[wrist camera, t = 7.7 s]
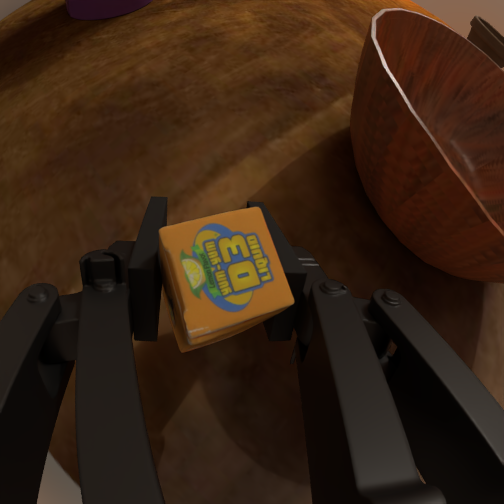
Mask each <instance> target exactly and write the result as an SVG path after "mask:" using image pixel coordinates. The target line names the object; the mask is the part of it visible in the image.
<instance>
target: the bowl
mask: <svg viewBox="0 0 504 504" xmlns="http://www.w3.org/2000/svg"><path fill="white" fill-rule="evenodd" d="M350 134H351V141H352V147H353V154H354V161H355V166H356V168H357V171H358V174H359V176H360V179H361V181H362V184H363V187H364V190H365V192H366V195H367V196H368V198H369V199H370V201H371V203H372V205H373V206H374V208H375V210H376V211H377V213H378V215H379V216H380V218H381V220H382V221H383V222H384V223H385V225H386V226H387V227H388V228H389V229H390V230H391V232H392V233H393V234H394V235H395V236H396V238H397V239H398V240H399V241H400V242H401V243H402V244H403V245H404V246H405V247H407V248H408V249H409V250H410V251H411V252H413V253H414V254H415V255H416V256H417V257H419V258H420V259H421V260H422V261H424V262H425V263H427V264H429V265H432V266H434V267H436V268H438V269H440V270H442V271H444V272H446V273H448V274H450V275H453V276H455V277H459V278H463V279H467V280H474V281H483V282H493V283H504V71H503V70H502V69H501V68H500V67H499V66H498V65H497V64H496V63H495V62H494V61H493V60H492V59H491V58H489V57H488V56H487V55H486V54H485V53H484V52H483V51H481V50H480V49H479V48H478V47H476V46H475V45H474V44H473V43H471V42H470V41H469V40H467V39H466V38H465V37H463V36H462V35H460V34H459V33H457V32H455V31H454V30H452V29H451V28H449V27H447V26H446V25H444V24H442V23H440V22H438V21H436V20H434V19H432V18H430V17H427V16H425V15H423V14H420V13H417V12H413V11H409V10H405V9H401V8H392V9H382V10H381V11H380V12H378V13H377V14H376V15H375V16H374V17H373V18H372V20H371V23H370V26H369V29H368V32H367V36H366V39H365V42H364V46H363V50H362V54H361V58H360V62H359V66H358V71H357V76H356V82H355V89H354V96H353V103H352V109H351V119H350Z"/></svg>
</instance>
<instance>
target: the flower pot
mask: <svg viewBox="0 0 504 504" xmlns="http://www.w3.org/2000/svg"><path fill="white" fill-rule="evenodd" d="M470 24H471V26H472V28H471V31H470V33H469V35H468V37H467V40H469V41H470V42H471V43H473V44H474V45H475V46H476V47H478V48H479V49H480V50H481V51H483V52H484V53H485V54H486V55H487V56H488V57H489V58H491V59H492V60H493V61H494V62H495V63H496V64H497V65H498V66H499V67H500V68H503V67H504V37H503V36H502V35H501V34H500V33H499V32H498V31H497V30H496V29H495V28H493V26H491V25H490V24H489V23H488V22H486V21H485V20H484V19H483V18H481V17H479V16H475V17H474V18H473V19H472V21H471V22H470Z"/></svg>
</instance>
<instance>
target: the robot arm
mask: <svg viewBox="0 0 504 504" xmlns="http://www.w3.org/2000/svg"><path fill="white" fill-rule="evenodd" d="M252 207H259V208H260V209H261V211H262V214H263V217H264V220H265V222H266V225H267V228H268V230H269V233H270V235H271V238H272V241H273V244H274V246H275V249H276V252H277V254H278V257H279V260H280V263H281V265H282V268H283V271H284V274H285V276H286V279H287V282H288V284H289V287H290V290H291V293H292V295H293V298H294V304H293V305H291V306H290V307H288V308H287V309H285V310H284V311H282V312H280V313H278V314H277V315H275V316H273V317H271V318H269V319H267V320H265V321H263V324H264V327H265V330H266V333H267V336H268V339H269V341H287V340H291V336H292V332H293V328H294V329H295V331H296V334H297V340H296V343H295V347H294V350H293V354H292V357H291V361H290V364H293V363H294V360H295V358H296V362H297V370H298V378H299V386H300V394H301V402H302V410H303V419H304V427H305V436H306V445H307V454H308V464H309V473H310V483H311V493H312V504H504V410H503V408H502V407H501V406H500V405H499V403H498V402H497V401H496V400H495V398H494V397H493V396H492V395H491V394H490V392H489V391H488V390H487V389H486V387H485V386H484V385H483V384H482V383H481V381H480V380H479V379H478V378H477V377H476V376H475V374H474V373H473V372H472V371H471V370H470V369H469V367H468V366H467V365H466V364H465V363H464V362H463V360H462V359H461V358H460V357H459V356H458V355H457V354H456V352H455V351H454V350H453V349H452V348H451V347H450V346H449V345H448V344H447V342H446V341H445V340H444V339H443V338H442V337H441V336H440V335H439V334H438V333H437V331H436V330H435V329H434V328H433V327H432V326H431V325H430V324H429V323H428V322H427V321H426V320H425V319H424V317H423V316H422V315H421V314H420V313H419V312H418V311H417V310H416V309H415V308H414V307H413V306H412V305H411V304H410V303H409V302H408V301H407V300H406V299H405V298H404V297H403V296H402V295H400V294H399V293H397V292H395V291H393V290H390V289H378V290H375V291H374V292H373V294H372V297H371V300H367V299H361V298H356V297H352V294H351V292H350V290H349V289H348V288H347V287H346V286H345V285H344V284H342V283H340V282H338V281H336V280H332V279H328V277H327V276H326V274H325V273H324V272H323V270H322V269H321V267H320V266H319V264H318V263H317V262H316V260H315V259H314V257H313V256H312V255H311V253H310V252H309V251H307V250H306V249H304V248H303V247H297V246H290V244H289V242H288V241H287V239H286V238H285V236H284V235H283V233H282V231H281V230H280V228H279V227H278V225H277V224H276V222H275V220H274V219H273V217H272V216H271V214H270V213H269V211H268V210H267V208H266V207H265V205H264V203H263V202H250V201H247V208H252ZM247 208H246V209H247ZM166 226H167V197H151V199H150V202H149V205H148V207H147V210H146V213H145V216H144V219H143V222H142V225H141V228H140V231H139V234H138V237H137V240H136V241H116V242H115V243H113V244H112V245H111V246H109V248H108V250H104V249H102V250H95V251H92V252H89V253H87V254H85V255H84V256H83V257H82V258H81V259H80V261H79V263H80V270H81V277H82V284H83V290H82V291H81V292H78V293H74V294H69V295H62V296H59V294H58V290H57V288H56V287H54V286H53V285H51V284H47V283H38V284H33V285H31V286H29V287H27V288H25V289H24V290H23V291H22V292H21V293H20V294H19V296H18V297H17V298H16V300H15V301H14V303H13V304H12V305H11V307H10V308H9V310H8V311H7V313H6V314H5V316H4V317H3V319H2V320H1V322H0V504H37V499H38V493H39V488H40V483H41V479H42V474H43V470H44V465H45V461H46V457H47V453H48V449H49V445H50V441H51V437H52V434H53V430H54V427H55V423H56V420H57V416H58V413H59V410H60V406H61V403H62V400H63V397H64V394H65V390H66V387H67V384H68V381H69V378H70V376H71V373H72V370H73V367H74V364H75V360H76V385H75V413H76V441H77V456H78V468H79V478H80V487H81V495H82V502H83V504H165V500H164V497H163V493H162V490H161V486H160V483H159V479H158V475H157V471H156V467H155V463H154V459H153V455H152V451H151V446H150V442H149V437H148V433H147V428H146V423H145V418H144V413H143V407H142V402H141V396H140V390H139V384H138V378H137V372H136V365H135V358H134V350H133V343H132V335H133V332H134V340H136V341H157V337H158V324H159V312H160V301H161V290H162V276H161V264H160V248H159V230H160V229H161V228H163V227H166ZM392 342H394V343H395V344H396V346H397V349H396V351H395V353H394V355H392V354H391V353H390V352H389V351H388V350H389V348H390V346H391V344H392ZM416 467H417V469H418V470H419V472H420V474H421V475H422V477H423V479H424V481H425V482H426V484H424V483H423V482H422V481H421V480H420V478H419V475H418V472H417V469H416Z"/></svg>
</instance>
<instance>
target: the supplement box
mask: <svg viewBox="0 0 504 504" xmlns="http://www.w3.org/2000/svg"><path fill="white" fill-rule="evenodd" d="M159 248H160V264H161V276H162V286H163V294H164V300H165V304H166V308H167V311H168V315H169V318H170V322H171V325H172V328H173V331H174V335H175V338H176V341H177V344H178V347H179V349H180V351H181V352H182V353H184V352H188V351H191V350H194V349H197V348H200V347H203V346H207V345H209V344H212V343H215V342H218V341H221V340H224V339H226V338H229V337H231V336H234V335H236V334H238V333H240V332H243V331H245V330H247V329H249V328H251V327H253V326H255V325H257V324H259V323H261V322H263V321H265V320H267V319H269V318H271V317H273V316H275V315H277V314H278V313H280V312H282V311H284V310H285V309H287V308H288V307H290V306H291V305H293V304H294V298H293V295H292V293H291V290H290V287H289V284H288V282H287V279H286V276H285V274H284V271H283V268H282V265H281V263H280V260H279V257H278V254H277V252H276V249H275V246H274V244H273V241H272V238H271V235H270V233H269V230H268V228H267V225H266V222H265V220H264V217H263V214H262V211H261V209H260V208H259V207H252V208H247V209H241V210H236V211H230V212H226V213H222V214H217V215H213V216H209V217H205V218H200V219H197V220H192V221H188V222H183V223H179V224H176V225H171V226H166V227H163V228H161V229H160V230H159Z"/></svg>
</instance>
